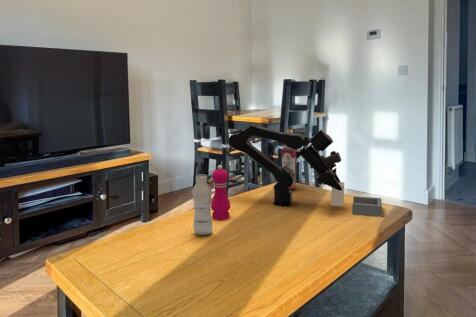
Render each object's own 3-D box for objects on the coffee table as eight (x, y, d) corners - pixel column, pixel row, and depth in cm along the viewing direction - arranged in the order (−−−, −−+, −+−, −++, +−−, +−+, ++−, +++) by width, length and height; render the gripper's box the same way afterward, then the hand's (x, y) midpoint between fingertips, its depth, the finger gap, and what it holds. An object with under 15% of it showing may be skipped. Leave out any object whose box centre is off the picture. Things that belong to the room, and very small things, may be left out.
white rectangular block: (330, 205, 154) (331, 184, 152) (332, 202, 158) (332, 181, 157) (342, 206, 153) (343, 185, 151) (343, 203, 157) (344, 182, 155)
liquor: (298, 188, 186) (299, 129, 180) (294, 192, 179) (295, 131, 174) (283, 186, 189) (284, 128, 183) (279, 190, 182) (279, 130, 177)
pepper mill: (207, 217, 147) (205, 165, 143) (220, 212, 152) (220, 162, 148) (220, 221, 142) (219, 168, 138) (234, 216, 147) (233, 164, 143)
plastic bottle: (197, 239, 127) (195, 178, 123) (190, 231, 133) (188, 174, 129) (215, 235, 129) (214, 176, 125) (208, 228, 135) (207, 172, 131)
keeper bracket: (352, 214, 149) (352, 203, 148) (353, 205, 159) (353, 196, 158) (381, 216, 146) (382, 206, 145) (380, 207, 156) (381, 198, 155)
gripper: (326, 149, 143) (356, 180, 142) (331, 142, 161) (358, 170, 159) (304, 169, 147) (333, 199, 146) (311, 159, 165) (337, 187, 163)
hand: (341, 188), depth 154 cm, fingers closed on white rectangular block, 4 cm apart
